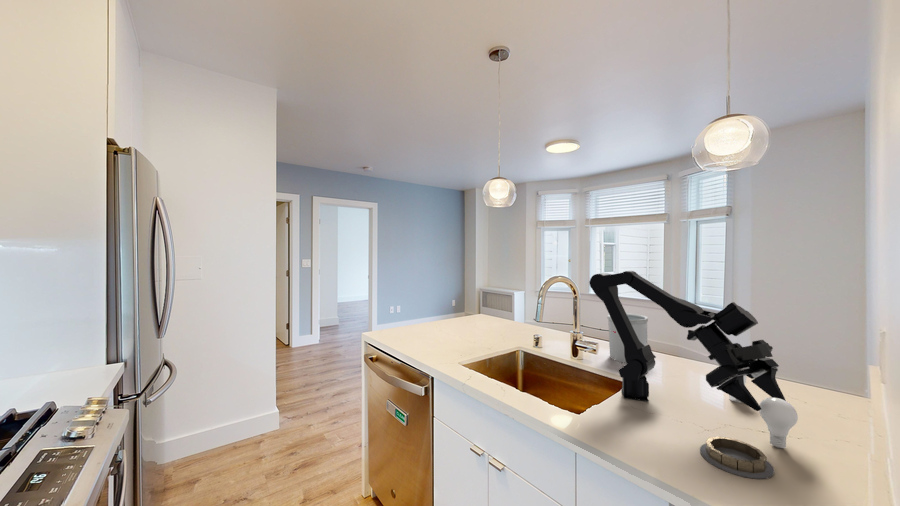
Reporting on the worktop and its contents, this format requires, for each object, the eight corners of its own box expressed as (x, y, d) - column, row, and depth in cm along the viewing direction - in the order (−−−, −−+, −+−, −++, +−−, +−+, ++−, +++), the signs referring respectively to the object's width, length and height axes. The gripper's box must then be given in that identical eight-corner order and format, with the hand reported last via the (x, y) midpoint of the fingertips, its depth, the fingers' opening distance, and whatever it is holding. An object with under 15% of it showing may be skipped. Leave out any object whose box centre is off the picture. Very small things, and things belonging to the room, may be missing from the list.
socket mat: (711, 471, 69) (711, 469, 69) (692, 440, 80) (692, 438, 80) (787, 484, 65) (787, 482, 65) (756, 450, 76) (756, 448, 76)
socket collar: (716, 467, 70) (716, 457, 70) (700, 442, 79) (700, 433, 79) (776, 477, 66) (776, 467, 66) (752, 450, 75) (752, 441, 75)
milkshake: (745, 406, 97) (745, 371, 97) (723, 399, 102) (723, 365, 102) (753, 403, 100) (753, 368, 99) (731, 396, 104) (731, 363, 104)
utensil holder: (614, 363, 135) (613, 319, 135) (603, 352, 150) (603, 312, 150) (654, 365, 133) (654, 320, 133) (639, 353, 148) (639, 313, 147)
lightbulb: (789, 443, 79) (789, 395, 79) (804, 458, 73) (803, 407, 73) (754, 437, 81) (754, 391, 81) (765, 451, 76) (765, 401, 76)
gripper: (718, 332, 80) (777, 398, 70) (768, 325, 86) (829, 384, 76) (685, 356, 87) (734, 419, 77) (733, 348, 94) (785, 405, 83)
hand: (772, 406), depth 78 cm, fingers open, 9 cm apart
